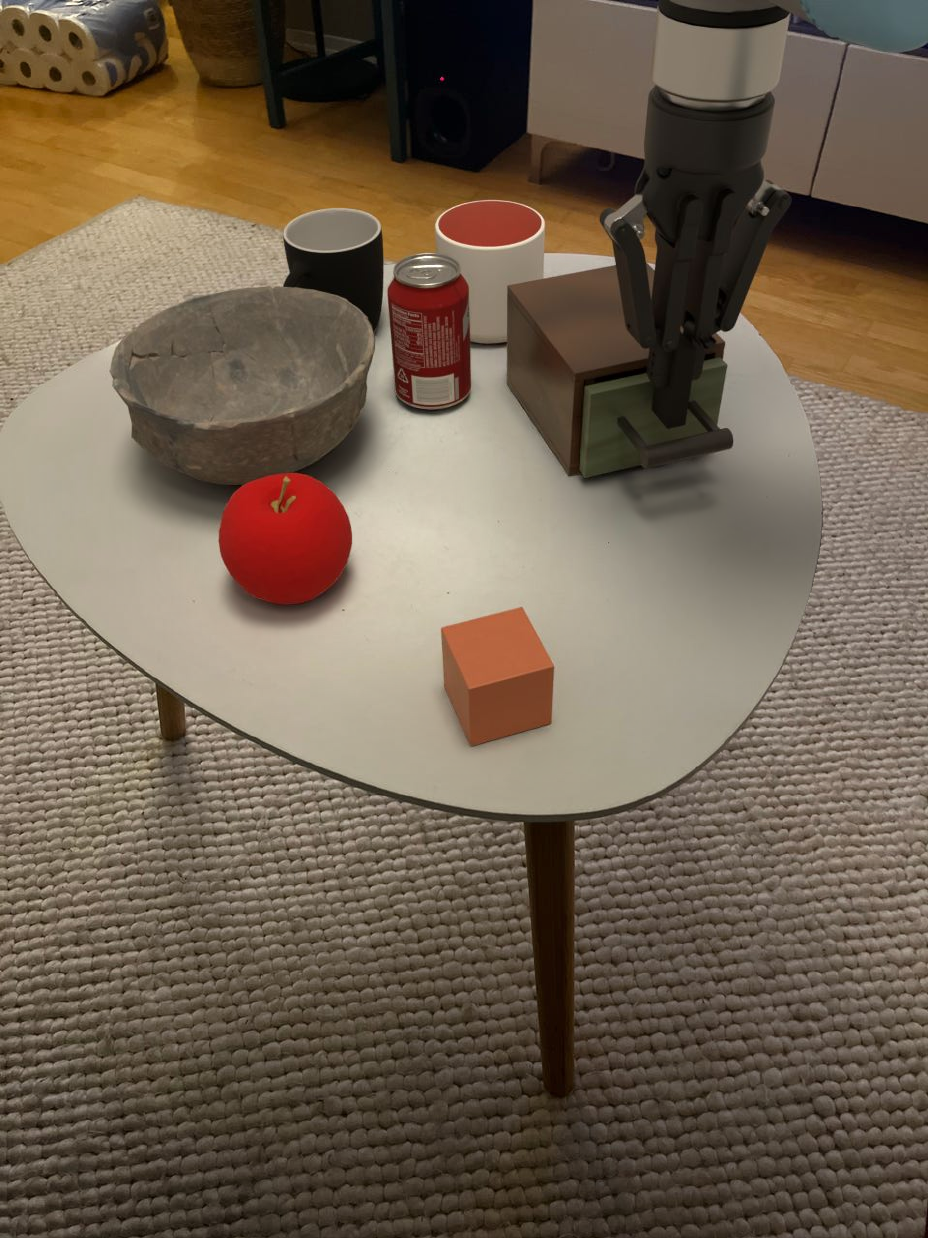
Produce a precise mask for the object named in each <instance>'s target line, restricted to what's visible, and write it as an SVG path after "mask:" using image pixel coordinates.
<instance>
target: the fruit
mask: <svg viewBox="0 0 928 1238" xmlns="http://www.w3.org/2000/svg"><path fill="white" fill-rule="evenodd" d="M218 546H219V547H218V548H219V553H220V557H221V559H222V562H223V565H224V566H225V568H226V569H227V572H228V573H229V575H230V576H231V578H232V579H233V580H234V581H235V582H236V583H237V584H238V585H239V586H240V587H241V588H242V589H243V590H244V591H245V592H246V593H247V594H249V595H251V596H252V597H254V598H256V599H259V600H262V601H265V602H268V603H272V604H277V605H293V604H294V605H295V604H297V605H298V604H302V603H306V602H309V601H312V600H314V599H315V598H316V597H318V596H320V595H321V594H323V593H324V592H326V591H327V590H328V589H330V588H331V587H332V586H333V585H334V584H335V583H336V581H338V580H339V578H340V577H341V575H342V574H343V572H344V570H345V567H346V565H347V564H348V561H349V558H350V555H351V551H352V546H353V531H352V524H351V521H350V517H349V515H348V513H347V510H346V508H345V506H344V505H343V503H342V502H341V501H340V499H339V498H338V496H337V495H336V493H335V492H333V491H332V490H331V488H330V487H328V486H327V485H326V484H324V483H323V482H322V481H320V480H319V479H317V478H314V477H313V476H311V475H308V474H306V473H305V474H303V473H298V472H292V473H283V474H276V475H270V476H266V477H263V478H260V479H257V480H254V481H251V482H248V483H246V484H244V485H240V487H239V488H238V489H236V490H235V491H234V492H233V493H232V495H231V496H230V498H229V499H228V501H227V503H226V506H225V507H224V510H223V512H222V516H221V521H220V525H219V528H218Z"/></svg>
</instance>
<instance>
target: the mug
mask: <svg viewBox="0 0 928 1238" xmlns="http://www.w3.org/2000/svg"><path fill="white" fill-rule="evenodd" d="M282 239H283V247H284V252H285V257H286V262H287V268H288V271H289V273H288V275H287V276H286V278H285V280H284V282H283V285H282V287H292V288H294V287H297V288H302V289H312V290H317V291H321V292H325V293H329V294H333V295H337V296H340V297H342V298H345V299H347V300H348V302H350V303H351V304H353V305H354V306H356V307H357V308H358V309H360V310H361V311H362V312H363V313H364V314H365V315H366V316H367V317H368V321H369V322H370V324H371V325H372V329H373V333H375V332H376V330H377V328H378V327H379V323H380V320H381V315H382V308H383V299H384V298H383V297H384V273H385V272H384V271H385V267H384V238H383V230H382V224H381V222H380V221H379V220H378V218H377V217H375V216H374V215H372V214H371V213H368V212H367V211H363V210H359V209H355V208H347V207H331V208H323V209H317V210H313V211H309V212H306V213H303V214H300V215H298V216H297V217H295V218H293V219H292V220H290V221H289V222H288V223H287V225H285V227H284V228H283V233H282Z"/></svg>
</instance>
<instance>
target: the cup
mask: <svg viewBox="0 0 928 1238" xmlns="http://www.w3.org/2000/svg"><path fill="white" fill-rule="evenodd" d="M435 221H436V222H435V225H434V232H435V233H434V234H435V253H439V254H444V255H448V256H450V257H452V258H454V259H456V260H457V261H458V262H459V264H460V266H461V274H462V276H463V277H464V278H465V280H466V281H467V283H468V286H469V313H470V342H472V343H478V344H502V343H507V286H508V285H512V284H518V283H523V282H528V281H533V280H539V279H544V275H545V274H544V273H545V272H544V271H545V242H546V241H545V239H546V222H545V219H544V217H543V216H542V214H541V213H540V212H538V211H537V210H536V209H534V208H532V207H530V206H528V205H526V204H522V203H519V202H514V201H510V200H500V199H499V200H498V199H484V200H475V201H470V202H465V203H461V204H458V205H455V206H453V207H451V208H448V209H447V210H445V211H444V212H442V213H441V214H440V215H439V216H438V218H437V219H436V220H435Z"/></svg>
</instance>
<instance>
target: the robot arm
mask: <svg viewBox="0 0 928 1238" xmlns="http://www.w3.org/2000/svg"><path fill="white" fill-rule="evenodd" d="M791 14H793V15H794V16H796V17H798V18H800V19H801V20H804V21H805V22H808V23H809V24H811V25H813V26H815V27H816V29H818V30H819V31H821V32H822V31H823V32H824V33H825V34H826V35H827V36H829V37H830V38H837V39H838V40H840V41H841V42H843V43H844V44H848V45H849V44H850V45H855V46H863V47H865V48H868V49H871V50H874V51H878V52H882V53H889V54H890V53H891V54H893V53H895V54H897V53H904V52H909V51H910V52H911V51H913V50H916V49H919V48H922V47H924V46H925V45H927V44H928V0H658V3H657V7H656V16H655V17H656V18H655V27H654V37H653V50H652V58H651V59H652V60H651V70H650V79H651V80H652V82H653V84H654V86H653V87H652V89H650V91H649V93H648V98H647V108H646V117H645V127H644V128H645V129H644V138H643V139H644V140H643V153H644V154H643V155H644V165H643V168H642V171H641V173H640V175H639V177H638V179H637V180H636V183H635V186H634V196H633V197H631V198H630V199H629V200H627V202H625V203H624V204H623V205H622V206H621V207H619V208H618V209H615V208H613V207H607V208H605V209H603V210H602V211H601V213H600V215H599V223H600V225H601V226H602V228H603V230H604V231H605V233H606V234H607V236H608V237H609V239H610V241H611V244H612V250H613V257H614V262H615V263H614V264H615V265H616V270H617V276H618V282H619V288H620V294H621V301H622V307H623V313H624V319H625V326H626V329H627V331H628V332H629V333H630V334H631V335H632V337H633V338H634V339H635V340H636V341H637V342H638V343H639V345H640V346H641V347H642V348H644V349H648V348H649V356H648V364H647V366H648V367H647V376H648V379H649V380H650V381H651V382H652V384H653V385H654V393H653V402H652V411H653V412H654V413H655V415H656V416H657V417H658V418H659V420H660V421H661V422H662V423H663V424H664V426H665V427H666V428H667V429H670V428H675V427H679V426H683V425H685V424H686V417H687V410H688V404H689V397H690V390H691V383H692V380H697V379H699V377H700V375H701V374H702V369H703V363H704V356H705V350H710V349H712V348H713V347H714V346H715V344H716V342H717V341H716V340H715V339H714V338H713V337H712V335H713V334H715V333H717V334H718V332H720V331H722V332H723V333H727V332H729V331H732V330H733V329H734V328H735V326H736V324H737V322H738V320H739V319H738V318H739V316H740V313H741V311H742V309H743V306H744V303H745V301H746V298H747V295H748V293H749V291H750V289H751V286H752V283H753V281H754V278H755V276H756V274H757V270H758V268H759V266H760V263H761V262H762V261H761V260H762V258H763V255H764V253H765V250H766V248H767V246H768V244H769V240H770V238H771V236H772V233H773V231H774V229H775V227H776V226H777V225H778V224H779V222H780V221H781V219H782V218H783V217H784V215H785V213H786V212H787V211H788V210H789V208H790V206H791V205H792V201H793V200H792V197H791V195H790V194H789V193H788V192H786V191H785V190H783V188H781V187H779V186H778V185H777V184H776V183H775V182H773V181H772V180H770V179H765V170H764V167H763V164H762V159H763V157H764V156H765V155H766V153H767V149H768V143H769V137H770V132H771V127H772V121H773V115H774V109H775V104H776V99H775V98H776V97H775V96H774V94H773V93H772V91H773V90H774V89H775V88H776V87H777V86H778V84H779V82H780V79H781V74H782V67H783V66H782V65H783V61H784V55H785V49H786V43H787V36H788V30H789V25H790V24H789V23H790V17H791ZM646 216H647V217H648V219H649V221H650V222H651V224H652V226H653V227H654V229H655V231H654V232H655V233H654V242H655V246H656V254H655V263H654V264H655V265H654V270H655V271H654V280H653V289H652V298H651V295H650V288H649V281H648V273H647V266H646V262H647V259H646V252H645V250H644V247H643V244H642V242H641V240H642V239H644V237H645V235H646V234H645V225H644V219H645V217H646ZM735 222H736V223H735ZM734 224H735V226H734ZM681 326H682V328H683V333H682V332H681V331H680V328H681Z"/></svg>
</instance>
